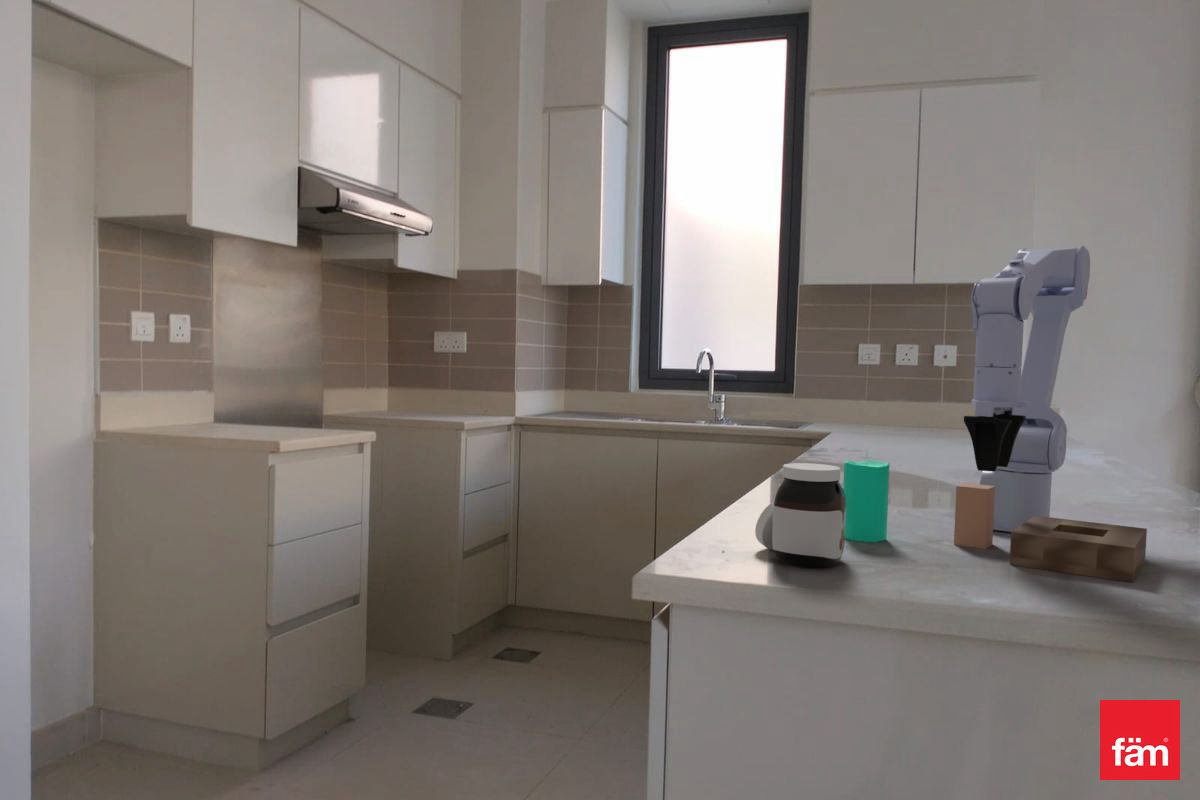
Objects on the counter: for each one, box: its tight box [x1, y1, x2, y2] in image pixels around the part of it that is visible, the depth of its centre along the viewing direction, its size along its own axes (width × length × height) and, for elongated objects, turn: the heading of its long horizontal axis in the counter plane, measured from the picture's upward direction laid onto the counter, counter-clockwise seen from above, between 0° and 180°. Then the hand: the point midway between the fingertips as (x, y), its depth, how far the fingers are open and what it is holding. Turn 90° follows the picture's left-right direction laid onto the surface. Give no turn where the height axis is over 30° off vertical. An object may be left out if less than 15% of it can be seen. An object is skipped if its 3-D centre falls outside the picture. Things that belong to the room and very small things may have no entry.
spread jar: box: [754, 462, 846, 569], centre depth 109 cm, size 12×11×12 cm
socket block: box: [1009, 516, 1148, 583], centre depth 110 cm, size 13×15×4 cm
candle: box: [842, 451, 890, 543], centre depth 122 cm, size 6×6×12 cm
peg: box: [953, 482, 995, 550], centre depth 119 cm, size 4×4×8 cm
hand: (992, 468), depth 119 cm, fingers open, 7 cm apart
